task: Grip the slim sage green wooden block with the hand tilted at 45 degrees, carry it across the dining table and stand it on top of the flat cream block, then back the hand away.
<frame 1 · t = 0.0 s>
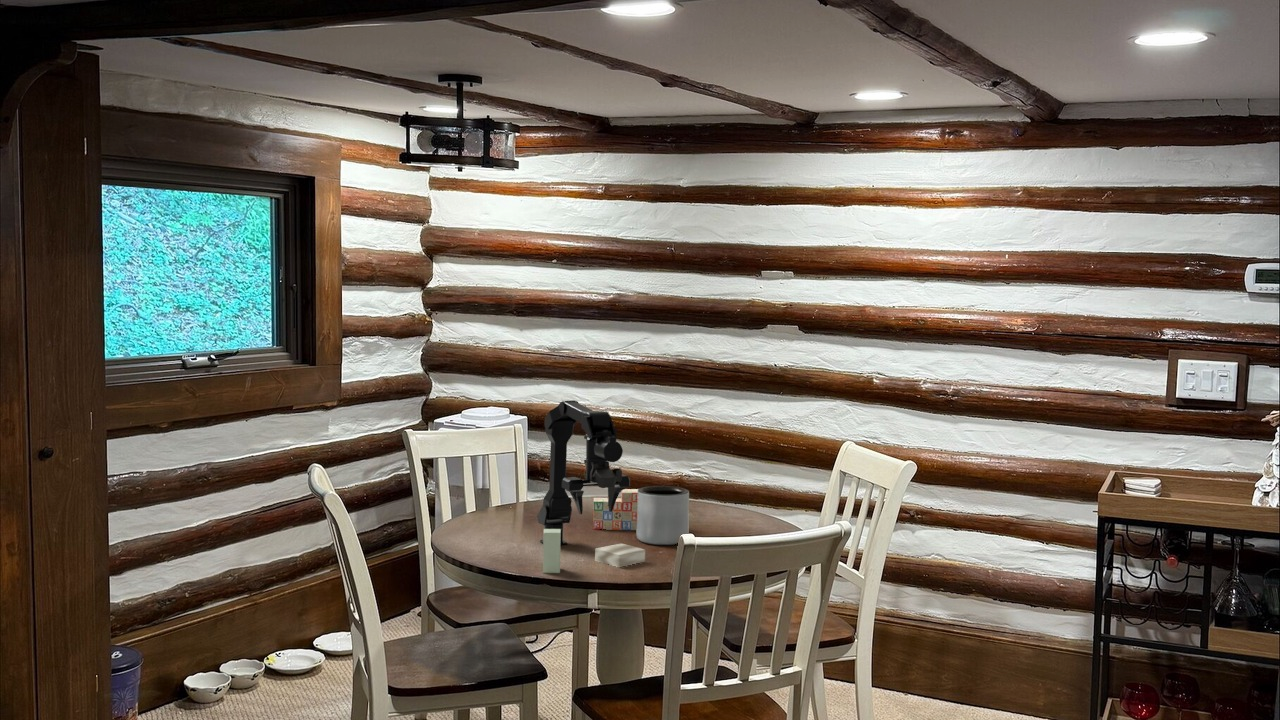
hand: (595, 512, 310), 15 cm above the table, tool pointing down, fingers open, 9 cm apart
stack of blocks: (626, 529, 359), on the table
tall sage block: (551, 570, 304), on the table
planter: (662, 541, 342), on the table
cream base block: (619, 562, 315), on the table
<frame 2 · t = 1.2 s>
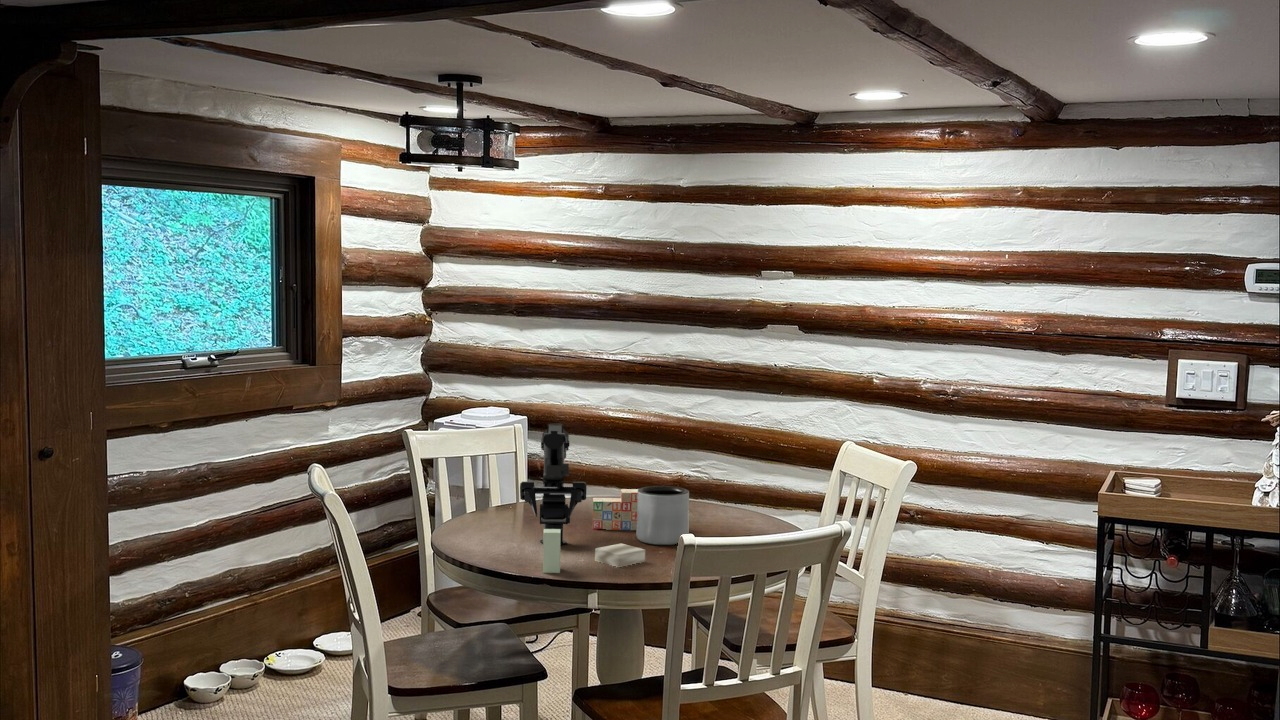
hand: (552, 516, 311), 13 cm above the table, tool tilted 45°, fingers open, 9 cm apart
nothing on the table moved.
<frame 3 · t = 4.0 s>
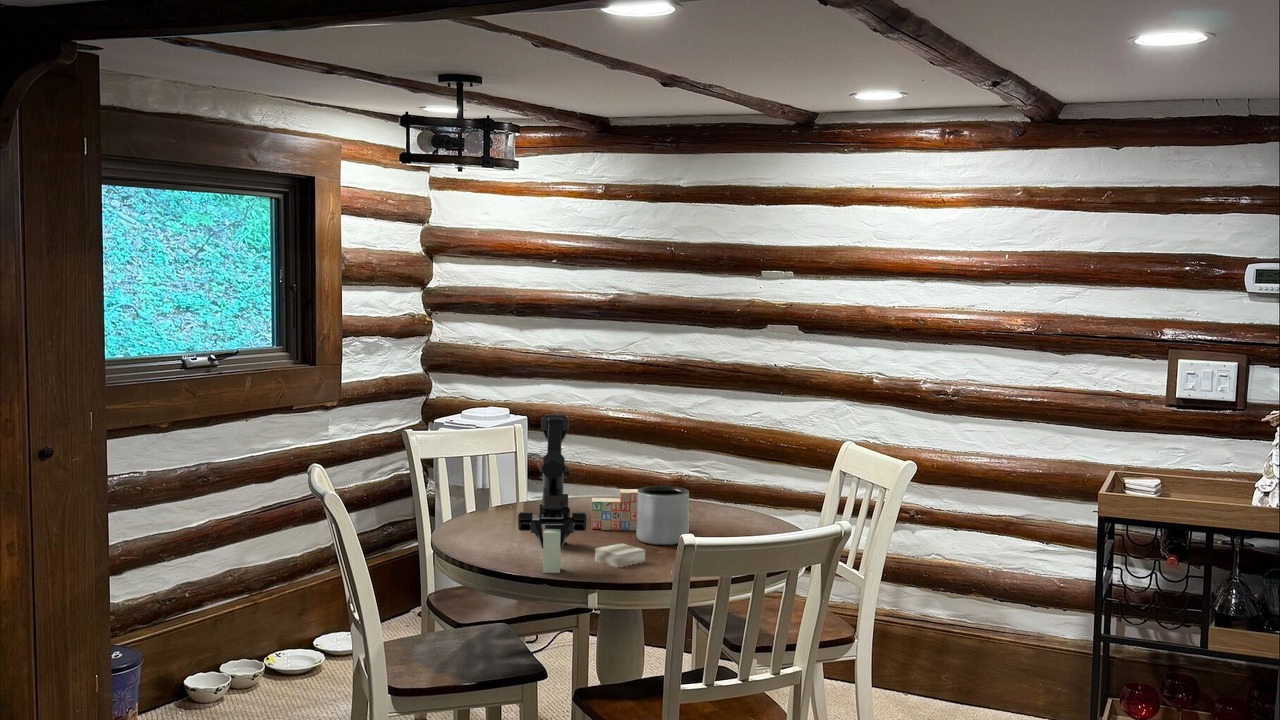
hand: (551, 547, 302), 7 cm above the table, tool tilted 45°, fingers closed on tall sage block, 5 cm apart
tall sage block: (551, 570, 304), on the table, touching gripper
everything else where it was.
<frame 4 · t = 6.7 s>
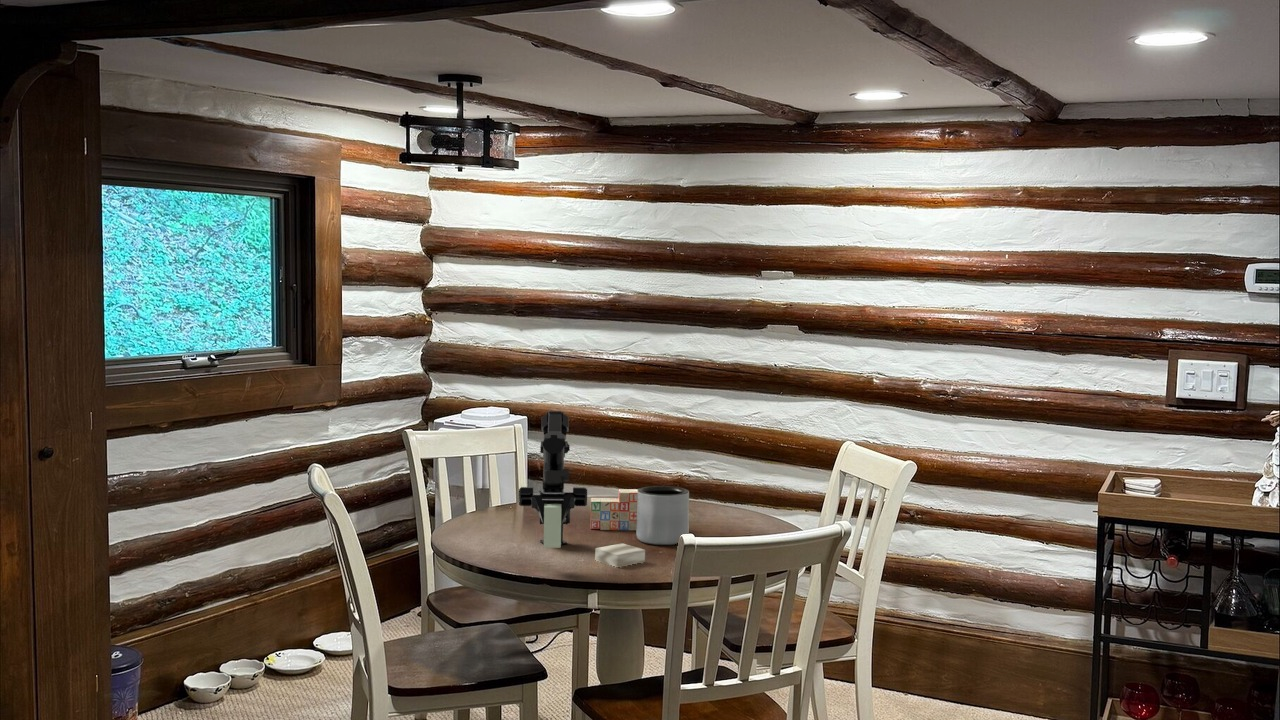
hand: (552, 522, 302), 13 cm above the table, tool tilted 45°, fingers closed on tall sage block, 5 cm apart
tall sage block: (552, 545, 303), point 7 cm above the table, touching gripper
everything else where it was.
when the fingers open (12 cm above the table, at t = 9.5 s): tall sage block drops 2 cm, point 4 cm above the table.
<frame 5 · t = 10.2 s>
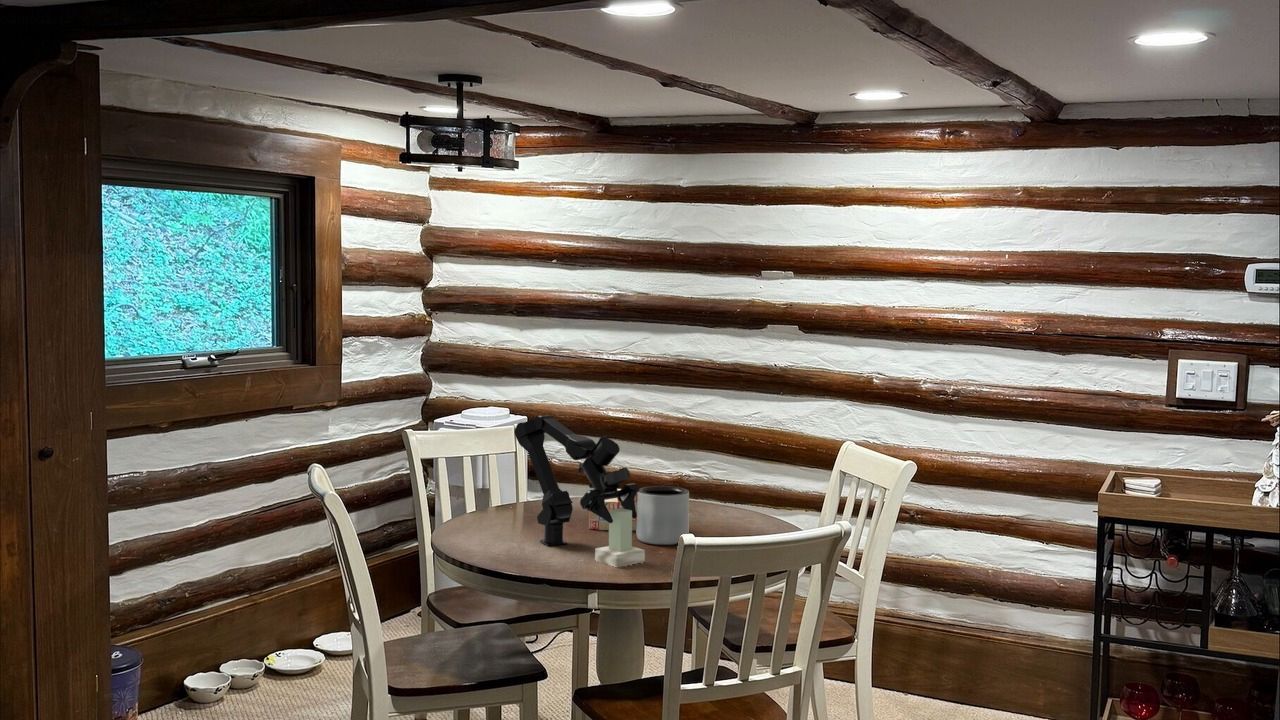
hand: (624, 520, 313), 12 cm above the table, tool tilted 45°, fingers open, 9 cm apart
tall sage block: (620, 549, 315), point 4 cm above the table
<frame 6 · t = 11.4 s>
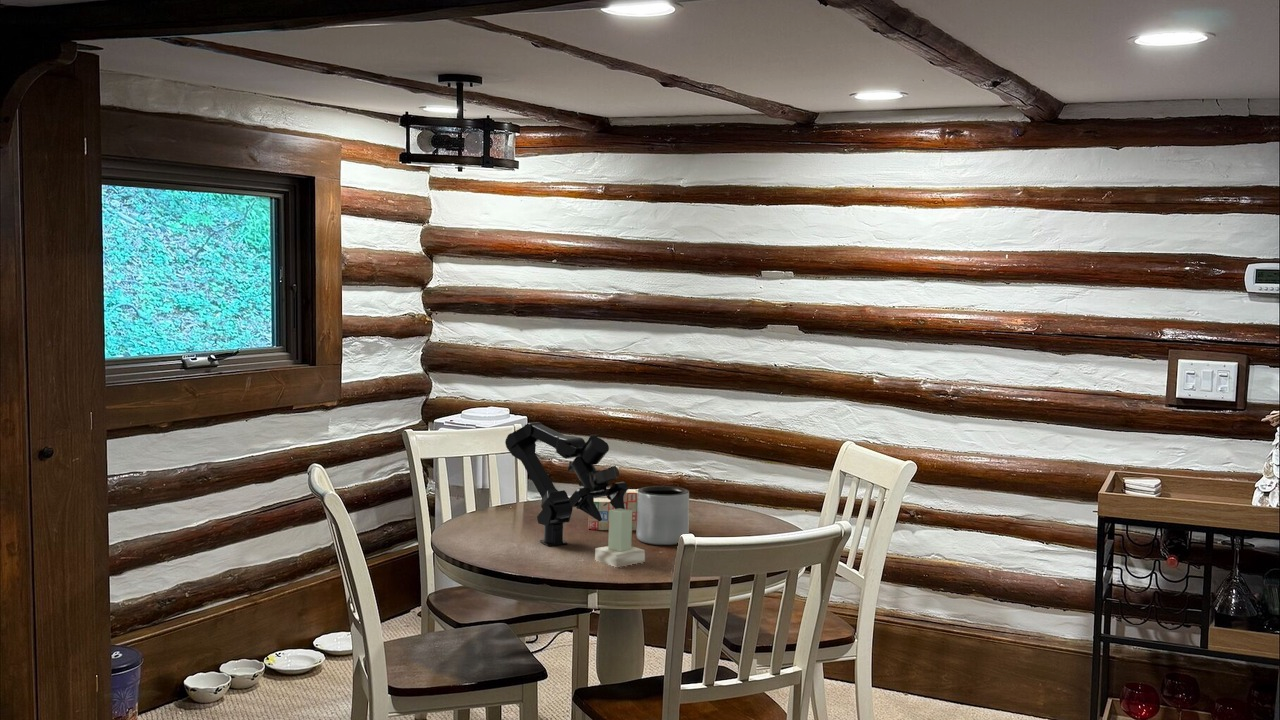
hand: (612, 518, 316), 12 cm above the table, tool tilted 45°, fingers open, 9 cm apart
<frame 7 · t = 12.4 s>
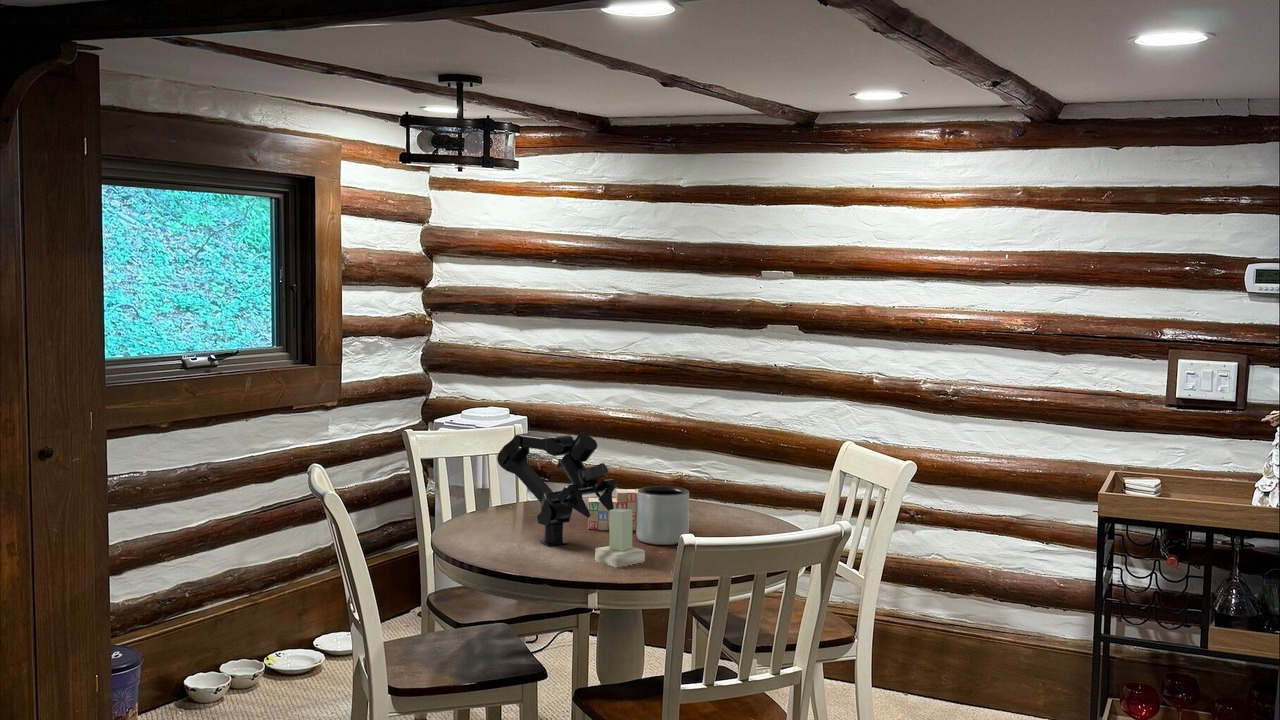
hand: (601, 514, 320), 12 cm above the table, tool tilted 45°, fingers open, 9 cm apart
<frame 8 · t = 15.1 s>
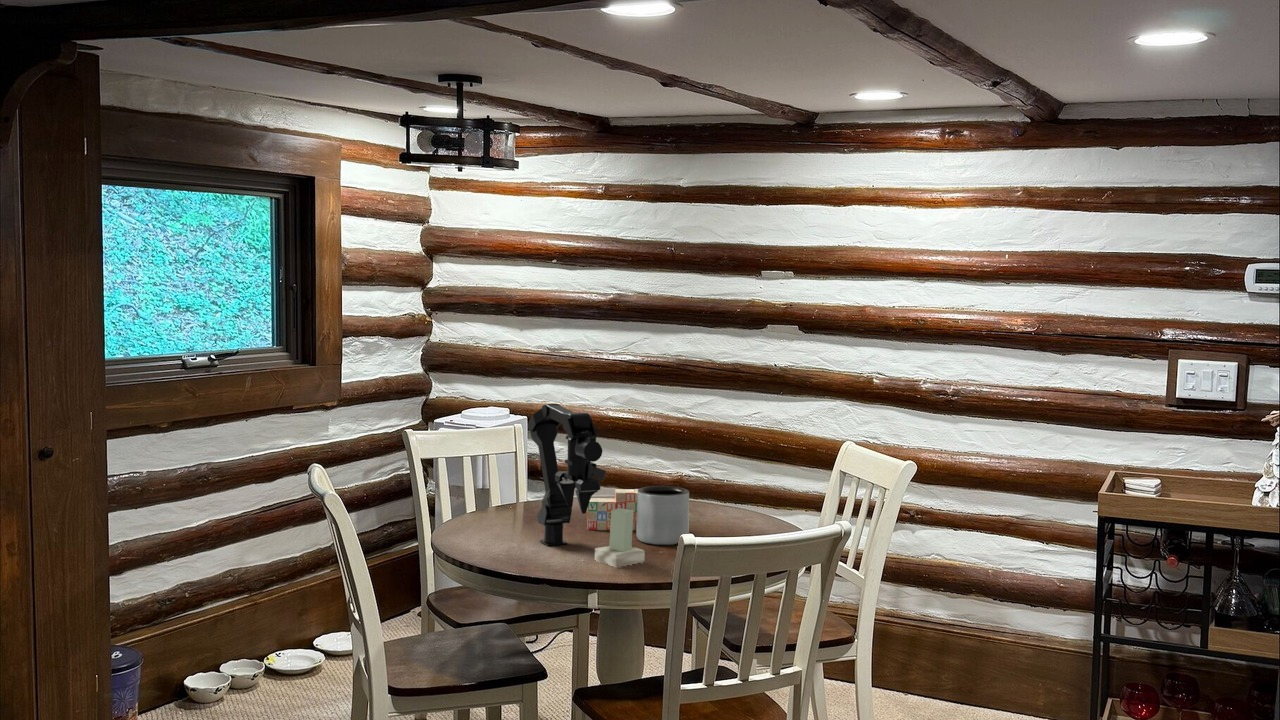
hand: (576, 510, 321), 13 cm above the table, tool pointing down, fingers open, 9 cm apart
at the end: tall sage block inside the target area on the cream base block (0.2 cm from its centre), point 4.0 cm above the cream base block's base; tall sage block tilted 0°; the gripper is holding nothing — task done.
